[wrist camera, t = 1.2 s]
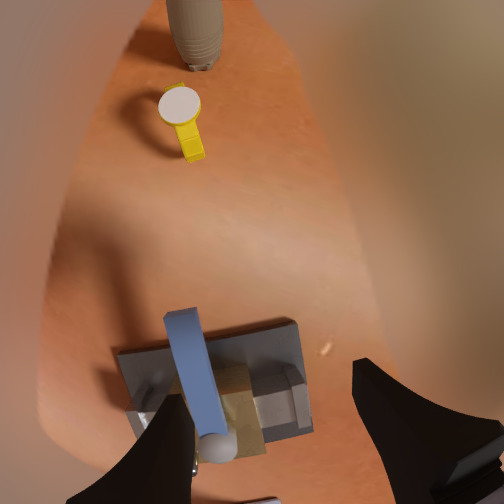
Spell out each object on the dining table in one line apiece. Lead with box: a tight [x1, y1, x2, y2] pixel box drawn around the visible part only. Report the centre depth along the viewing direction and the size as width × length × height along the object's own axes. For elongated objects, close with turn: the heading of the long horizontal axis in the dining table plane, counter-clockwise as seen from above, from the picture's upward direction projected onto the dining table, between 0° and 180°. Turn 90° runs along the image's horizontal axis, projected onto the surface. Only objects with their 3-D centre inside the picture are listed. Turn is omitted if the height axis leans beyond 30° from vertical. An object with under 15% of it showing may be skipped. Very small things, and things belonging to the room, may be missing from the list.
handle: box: [166, 0, 223, 72], centre depth 16 cm, size 5×6×15 cm
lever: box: [163, 307, 237, 464], centre depth 18 cm, size 11×3×2 cm, turn 11°
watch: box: [158, 82, 205, 163], centre depth 21 cm, size 6×3×6 cm, turn 18°
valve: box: [117, 320, 314, 477], centre depth 22 cm, size 11×15×7 cm
